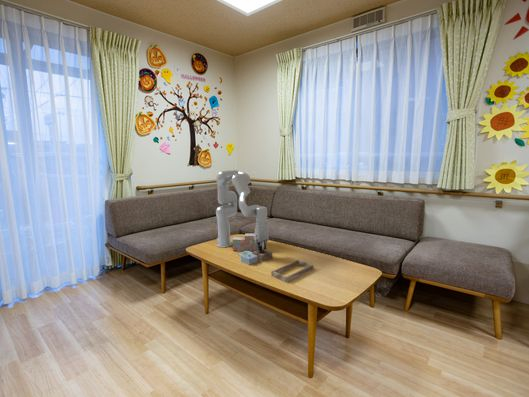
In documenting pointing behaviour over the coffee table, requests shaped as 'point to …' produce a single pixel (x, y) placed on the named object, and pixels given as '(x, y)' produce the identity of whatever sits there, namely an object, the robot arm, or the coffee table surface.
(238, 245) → the stack of blocks
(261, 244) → the cylinder
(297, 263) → the rectangular wooden corral frame
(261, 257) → the square-holed wooden block
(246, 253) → the tray
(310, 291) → the coffee table surface
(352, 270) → the coffee table surface
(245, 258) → the block
